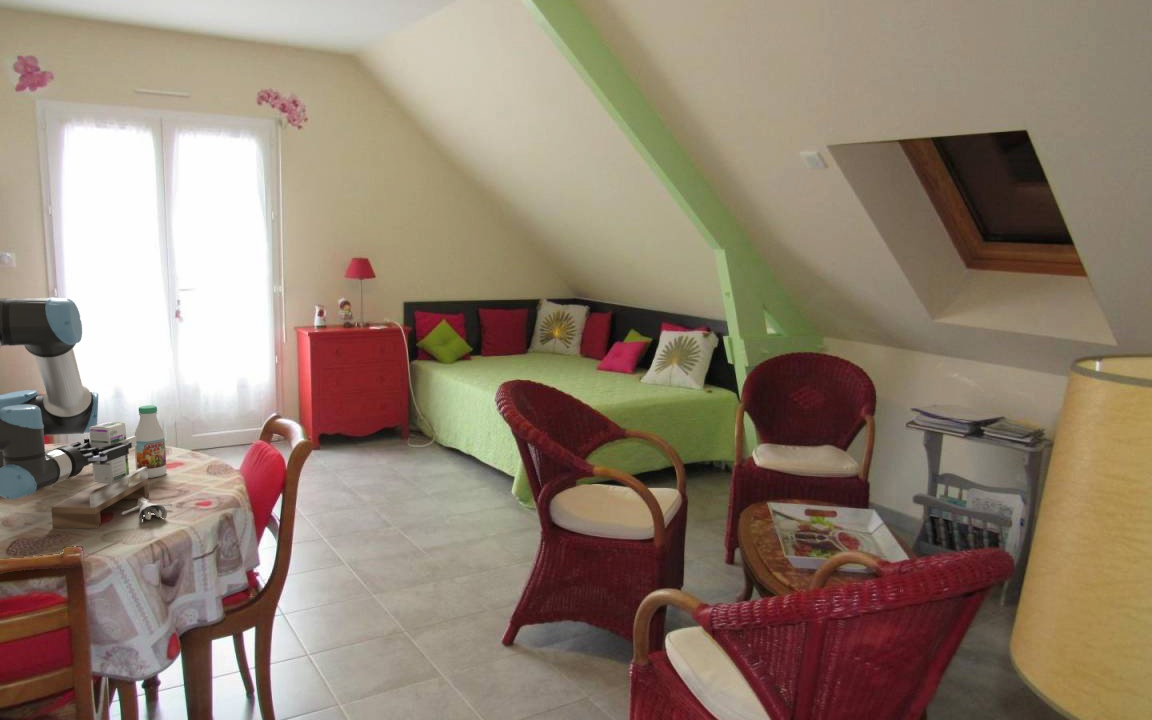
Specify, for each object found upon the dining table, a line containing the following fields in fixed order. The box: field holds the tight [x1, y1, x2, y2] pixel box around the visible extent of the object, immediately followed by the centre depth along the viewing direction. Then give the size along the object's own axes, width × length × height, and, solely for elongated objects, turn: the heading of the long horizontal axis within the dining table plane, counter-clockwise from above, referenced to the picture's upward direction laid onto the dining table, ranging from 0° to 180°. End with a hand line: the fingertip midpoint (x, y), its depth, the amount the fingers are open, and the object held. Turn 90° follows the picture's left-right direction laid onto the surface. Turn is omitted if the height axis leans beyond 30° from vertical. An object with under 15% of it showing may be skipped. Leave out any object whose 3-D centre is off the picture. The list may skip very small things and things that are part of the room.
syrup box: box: [89, 421, 130, 484], centre depth 202 cm, size 6×6×14 cm
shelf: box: [51, 467, 150, 529], centre depth 199 cm, size 24×10×8 cm, turn 1°
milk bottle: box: [134, 404, 167, 479], centre depth 228 cm, size 8×8×20 cm
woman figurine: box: [121, 497, 174, 524], centre depth 197 cm, size 12×4×18 cm
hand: (122, 440), depth 207 cm, fingers closed on syrup box, 6 cm apart
